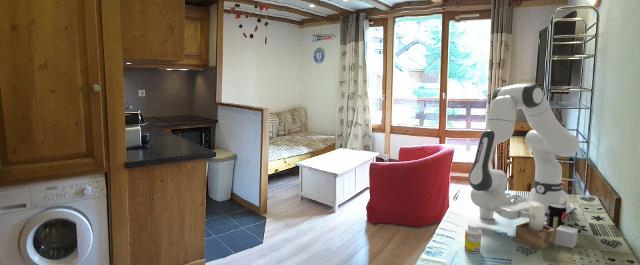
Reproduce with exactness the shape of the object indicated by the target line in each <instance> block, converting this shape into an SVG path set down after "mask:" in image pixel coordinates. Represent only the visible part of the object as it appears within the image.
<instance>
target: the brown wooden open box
mask: <svg viewBox="0 0 640 265" xmlns="http://www.w3.org/2000/svg"><path fill="white" fill-rule="evenodd" d="M514 237H515V238H514V241H517V242H519V243H522V244H524V245H527V246H530V247H531V248H532V247H533V248H535V249H538V250H543V249H546V248H547V247H550V246H553V245H556V244H555V237H556V229H554V228H551V227H548V226H546V224H543V232H536V231H533V230H530V229H529V221H526V222H524V223H520V224H517V225H516V227H515V236H514Z"/></svg>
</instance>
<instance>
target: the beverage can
mask: <svg viewBox="0 0 640 265" xmlns="http://www.w3.org/2000/svg"><path fill="white" fill-rule="evenodd" d="M566 211H567V210H566V206H565V205H562V204H558V203H550V204H549V206H548V212H547V213H546V214H547V216H546V224H545V226H548V227H551V228H554V229H557V228H558V227H559V226H560V225H563V226H566V220H567V214H566Z"/></svg>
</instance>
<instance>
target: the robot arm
mask: <svg viewBox="0 0 640 265" xmlns="http://www.w3.org/2000/svg"><path fill="white" fill-rule="evenodd" d="M521 109H522V112H523V115H524V117H525V119H526V121H527V124H528V125H529V127H530V128H531V130H529V131H528V132H527V133H526V135H525V138H524V141H525V142H524V143H525V145H526V146H527V148H529V150H530V152H531V153H532V156H533V159H534V163H535V173H534V174H535V175H534V179H533V183H532V184H533V188H531V190H530V192H529V194H530V196H529V198H527V197H524V196H523V195H520V194H509V193H506V190H507V188H508V184H509V183H508V182H509V178H508V176H507V173H506V172H504V171H502V170H501V169H495V168H490V164H491V160H492V156H493V152H494V149H495V148H496V146H497V145H499V144H501V143H503V142H506V141H508V140H509V139H510V138H512V137H513V134H514V131H515V125H516V124H515V123H516V111H517V110H521ZM488 110H489V111H488V116H487V121H486V126H485V128H484V131H483V132H482V134H481V136H480V138H479V142H478V145H477V148H476V153H475V158H474V161H473V164H472V167H471V169H470V171H469V173H468V183H469V185H470V187H471V188H472V190H471V191H470V199H471V202H472V203H473V204H474V205H475V206H477V207H479V208H480V207H481V208H484V209H486V210H492V211H494V213H497V215H498V216H499V217H503V218H505V219H507V220H511V221H512V220H515V219H516V220H517V219H519V218H520V219H521V218H525V219H529V218H530V219H533V218H535V214H533V213H529V211H530V204H531V203H539V204H542V205H544V206H545V208H544V216H546V214H547V212H548V206H549V204H550V203H558V204H562V205H565V206H566V210H567V211H566V215H567V214H569V213H571V212H572V211H573V210H575V209H574V208H576V206H574V205H573V204H570V203H571V202H570V195H568V193H566V192H565V191H564V190H563V189H564V187H566V185H567V183H566V182H565V181H562V174H563V166H562V165H561V163H559V162H558V160H557V159H556V157H555V156H560V157H561V156H563V157H567V156H570V157H571V156H573V155H575V154H576V153H578V151H579V150H580V146H581V145H580V140H579V138H578V137H577V136H576V135H574V134H572V133H571V132H570V131H568V129H566V128H565V127H564V126H563V125H562V124H561V123H560V121H559V120H558V119H557V118H556V116H555V114H554V112H553V110H552V108H551V105H550V103H549V101H548V100H547V97H546V96H545V94H544V91H543V89H542V87H540V86H539V85H538V84H535V83H528V84H527V83H522V84H521V83H519V84H512V85H506V86H500V87H498V88H496V89H495V90H494V91H493V93H492V96H491V104H490V107H489V109H488Z"/></svg>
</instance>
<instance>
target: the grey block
mask: <svg viewBox="0 0 640 265" xmlns="http://www.w3.org/2000/svg"><path fill="white" fill-rule="evenodd" d="M578 233H579V228H575V227H571V226H566V225H565V226H563V225H560V226H559V227H558V228H557V229H556V236H555V244H554V245H559V246H563V247H566V248H569V249H570V248H571V249H574V247H575V246H576V245H577V244H578V235H579V234H578Z"/></svg>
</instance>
